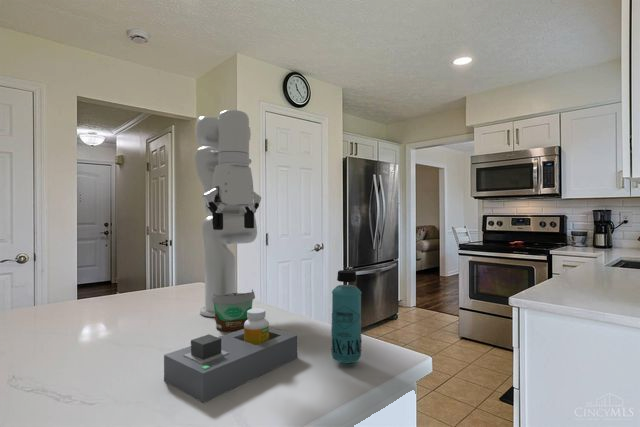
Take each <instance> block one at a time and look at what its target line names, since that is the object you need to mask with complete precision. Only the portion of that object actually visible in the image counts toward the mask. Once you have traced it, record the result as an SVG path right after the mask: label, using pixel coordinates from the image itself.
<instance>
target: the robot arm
mask: <svg viewBox="0 0 640 427" xmlns="http://www.w3.org/2000/svg"><path fill="white" fill-rule="evenodd" d="M249 118H250V117H249V115H248V114H247V113H246V112H244V111H241V110H237V109H226V110H223V111H221V112H220V113H219V114H218V116H207V115H204V116H203V115H202V116H199V117H198V118H197V119H196V122H195V126H194V136H195V140H196V142H197V144H198V145H200V146H201V147H199V148H197V149H196V150H195V154H194V166H195V170H196V173H197V176H198V178H199V181H200V182H201V184H202V188H203V195H202V198H203V201H204V209H205V211H206V214H207V215H208V216H207V217H206V218H204V219H203V221H202V224H201V232H202V233H201V234H202V238H203V239H202V240H203V245H204V294H205V295H204V296H205V298H204V304H205V305H204V306H203V307H201V308H200V309H199V313H200V315H202V316H203V317H204V316H205V317H211V318H212V317H214V318H215V310H214V302H212V301H211V299H212V296H213V294H215V295H221V296H223V295H228V294H232V293H236V257H235V254H234V253H233V251H232V250H231V249H230V248H229V247H228V245H235V244H237V245H238V244H251V243H253V242H255V240H256V239H257V236H258V226H257V219H256V213H257V210H258V209H259V207H260V203H261V200H262V196H261V195H259V194H258V193H257V192H255V191H254V181H253V180H254V179H253V174H252V169H251V167H250V165H251V164H252V159H251V158H250V141H251V134H252V133H251V128H250V119H249Z"/></svg>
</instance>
